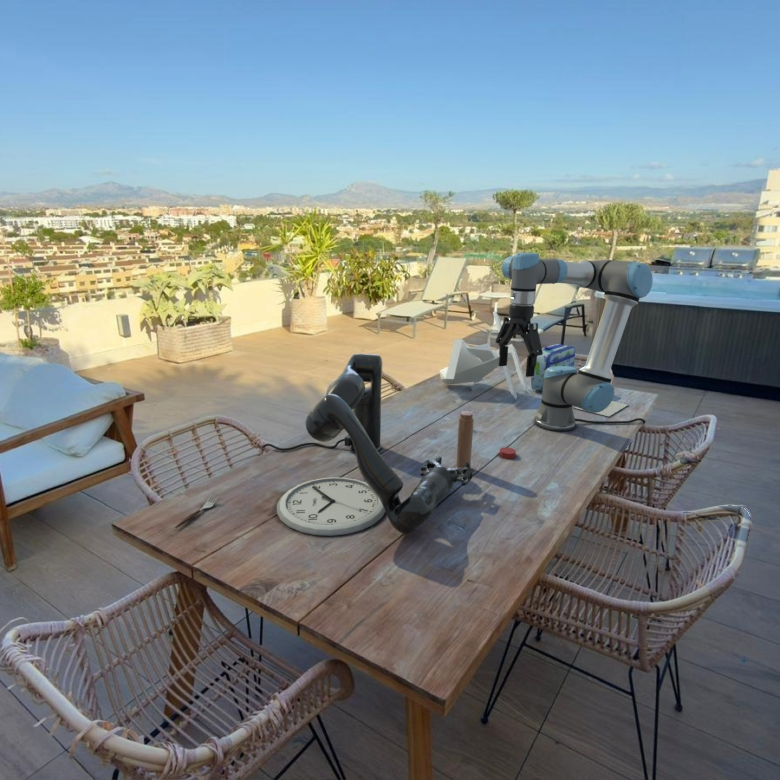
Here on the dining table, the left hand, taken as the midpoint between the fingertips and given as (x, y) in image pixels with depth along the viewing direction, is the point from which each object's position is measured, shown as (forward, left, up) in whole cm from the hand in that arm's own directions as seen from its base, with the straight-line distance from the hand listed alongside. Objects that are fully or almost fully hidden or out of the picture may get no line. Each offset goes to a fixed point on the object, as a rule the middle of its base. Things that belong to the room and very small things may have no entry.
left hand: (454, 462), depth 155 cm
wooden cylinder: (0, +10, -6) cm, 12 cm away
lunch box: (+11, +114, -6) cm, 114 cm away
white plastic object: (-18, +91, -6) cm, 93 cm away
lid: (+10, +27, -5) cm, 29 cm away
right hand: (+10, +27, +23) cm, 37 cm away
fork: (-54, -48, -6) cm, 73 cm away
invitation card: (+35, +96, -6) cm, 102 cm away
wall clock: (-25, -28, -6) cm, 38 cm away
